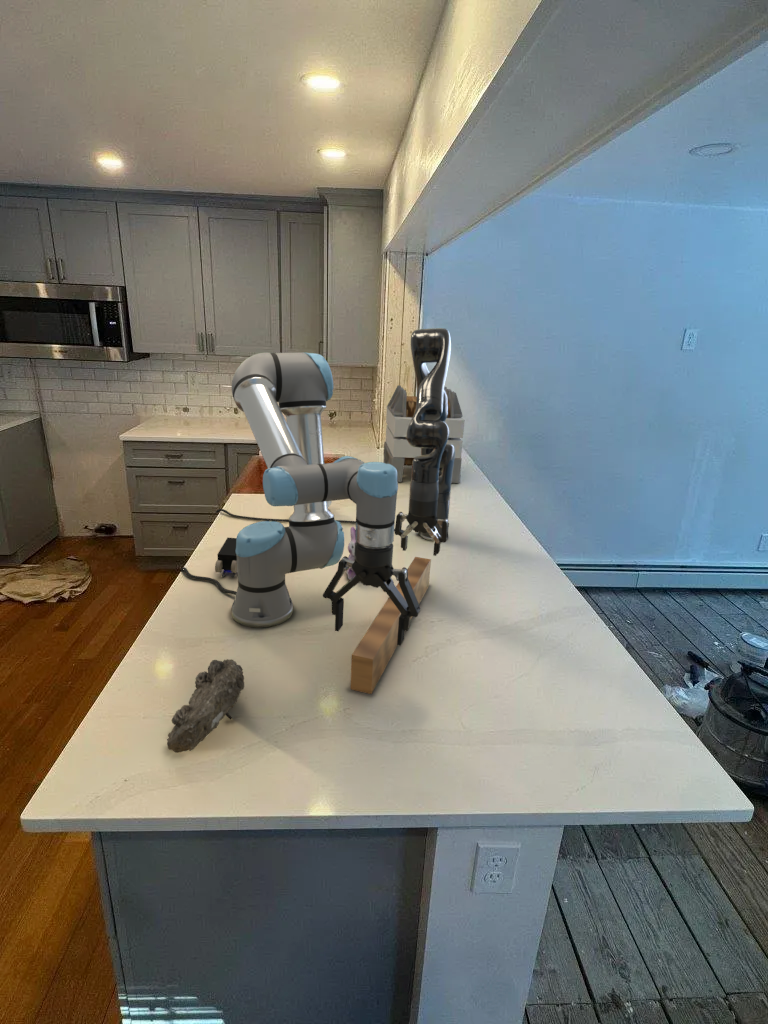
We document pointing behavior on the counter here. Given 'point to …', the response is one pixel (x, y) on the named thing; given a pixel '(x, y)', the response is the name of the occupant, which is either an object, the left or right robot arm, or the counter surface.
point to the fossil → (206, 705)
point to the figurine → (351, 552)
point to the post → (385, 633)
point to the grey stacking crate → (397, 425)
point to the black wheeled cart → (227, 558)
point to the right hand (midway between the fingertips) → (420, 552)
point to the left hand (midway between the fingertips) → (369, 635)
